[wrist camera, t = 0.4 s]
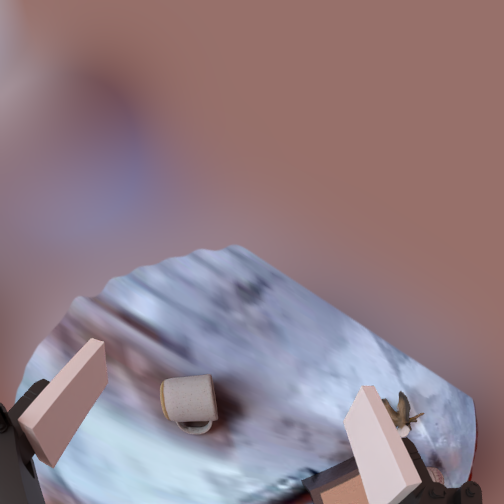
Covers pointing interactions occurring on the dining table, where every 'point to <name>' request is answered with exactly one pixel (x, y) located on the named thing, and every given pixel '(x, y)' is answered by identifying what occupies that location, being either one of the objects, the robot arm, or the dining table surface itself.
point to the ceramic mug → (189, 401)
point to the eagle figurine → (401, 415)
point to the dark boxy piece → (337, 485)
